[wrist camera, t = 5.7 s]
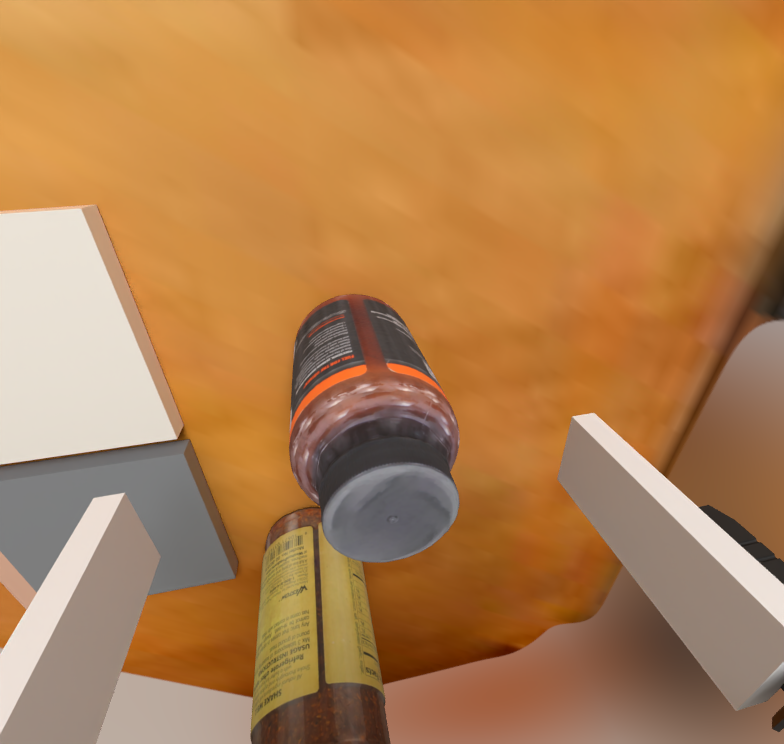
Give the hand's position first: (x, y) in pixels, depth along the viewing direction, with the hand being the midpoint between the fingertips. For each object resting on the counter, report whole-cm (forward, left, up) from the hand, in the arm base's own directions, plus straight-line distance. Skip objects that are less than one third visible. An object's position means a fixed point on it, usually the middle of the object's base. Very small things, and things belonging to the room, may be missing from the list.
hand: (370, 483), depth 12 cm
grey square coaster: (+15, +10, -10) cm, 20 cm away
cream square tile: (+15, -2, -10) cm, 18 cm away
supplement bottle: (0, 0, -10) cm, 10 cm away
